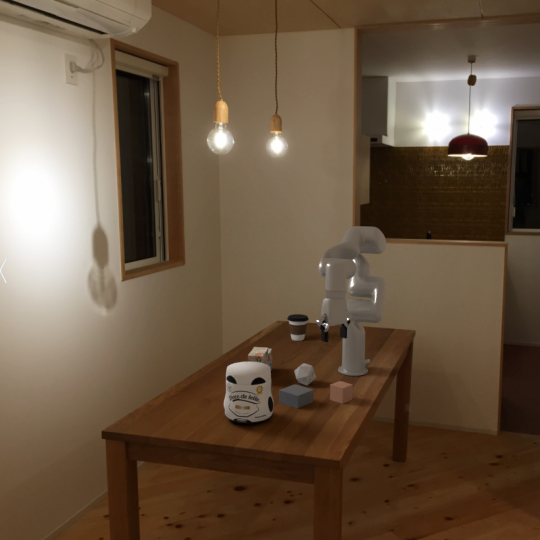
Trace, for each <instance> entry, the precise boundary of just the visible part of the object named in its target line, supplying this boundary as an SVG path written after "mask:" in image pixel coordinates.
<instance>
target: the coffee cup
mask: <svg viewBox="0 0 540 540" xmlns="http://www.w3.org/2000/svg"><path fill="white" fill-rule="evenodd" d="M286 319H287V321H288V326H289V332H290V337H291V340H292V341H296V342H297V341H298V342H299V341H303V340H304V339H305V338H306V333H307V329H308V328H307V327H308V321H309V316H308V315H306V314H301V313H298V314H297V313H296V314H295V313H294V314H290V315H288V316H287V318H286Z"/></svg>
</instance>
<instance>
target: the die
mask: <svg viewBox="0 0 540 540" xmlns="http://www.w3.org/2000/svg"><path fill="white" fill-rule="evenodd" d="M294 375H295V379H296V380H297V383H299V384H301V385H303V386H305V387H307V386H309V385H310V384H311V383H312V382H313V381H314V380H316V379H317V376H316V375H317V374H316V373H315V369H314V367H313V365H310V364H308V363H304V362H303V363H302V364H300V365H299V366H298V367H297V368H295V370H294Z"/></svg>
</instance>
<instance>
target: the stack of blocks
mask: <svg viewBox="0 0 540 540" xmlns="http://www.w3.org/2000/svg"><path fill="white" fill-rule="evenodd" d="M247 362H259V363H264V364H267V365H268V366H270V370H271V371H272V370H273V349H272V348H269V347H262V346H261V347H259V346H254V347H253V348H252V349H251V351H250V352H249V353H248V354H247Z"/></svg>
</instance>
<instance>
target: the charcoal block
mask: <svg viewBox="0 0 540 540" xmlns="http://www.w3.org/2000/svg"><path fill="white" fill-rule="evenodd" d="M278 395H279V396H278V402H279V403H280V404H282V405H285V406H289V407H292V408H295V409H299V408H303V407H305V406H307V405H310V404H312V403H314V389H312V388H308V387H307V386H304V385H303V386H302V385H299V384H292V385H289V386H287V387H284V388H281V389H279V390H278Z"/></svg>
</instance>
